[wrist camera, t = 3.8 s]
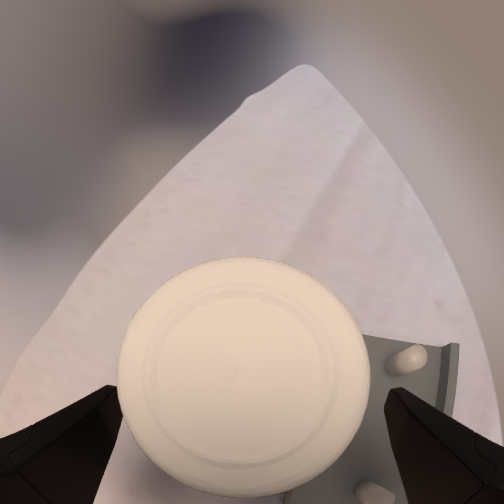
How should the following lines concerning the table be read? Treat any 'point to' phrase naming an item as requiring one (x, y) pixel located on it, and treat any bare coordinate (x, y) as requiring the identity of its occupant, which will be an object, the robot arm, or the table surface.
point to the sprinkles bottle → (243, 377)
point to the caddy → (383, 424)
